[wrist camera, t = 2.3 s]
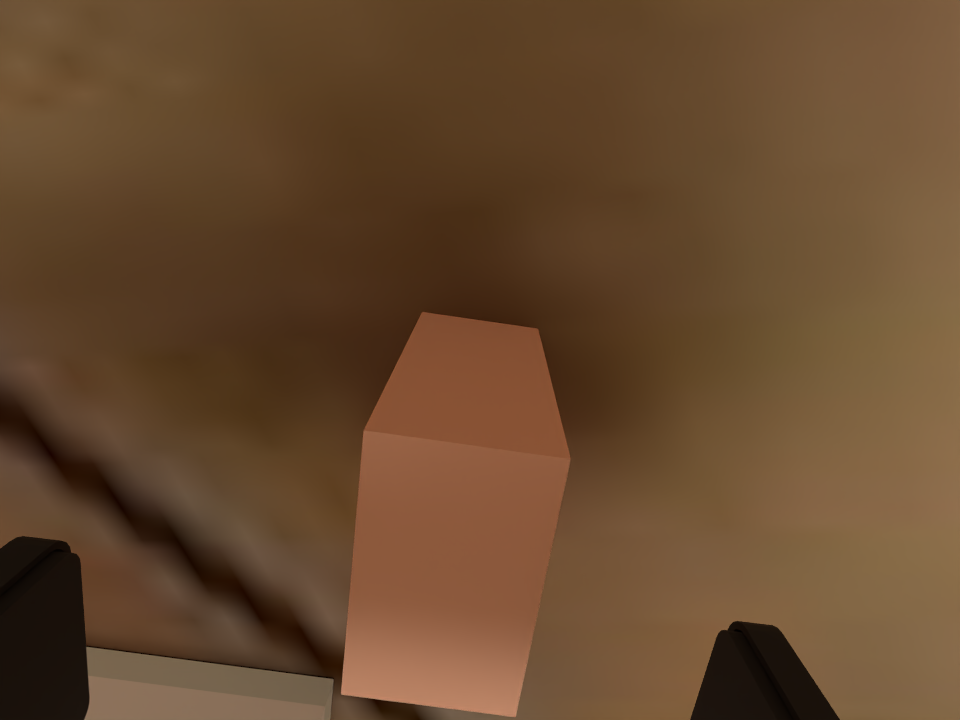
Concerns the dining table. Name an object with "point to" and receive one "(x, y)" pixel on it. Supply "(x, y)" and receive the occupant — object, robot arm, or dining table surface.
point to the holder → (198, 690)
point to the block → (455, 518)
